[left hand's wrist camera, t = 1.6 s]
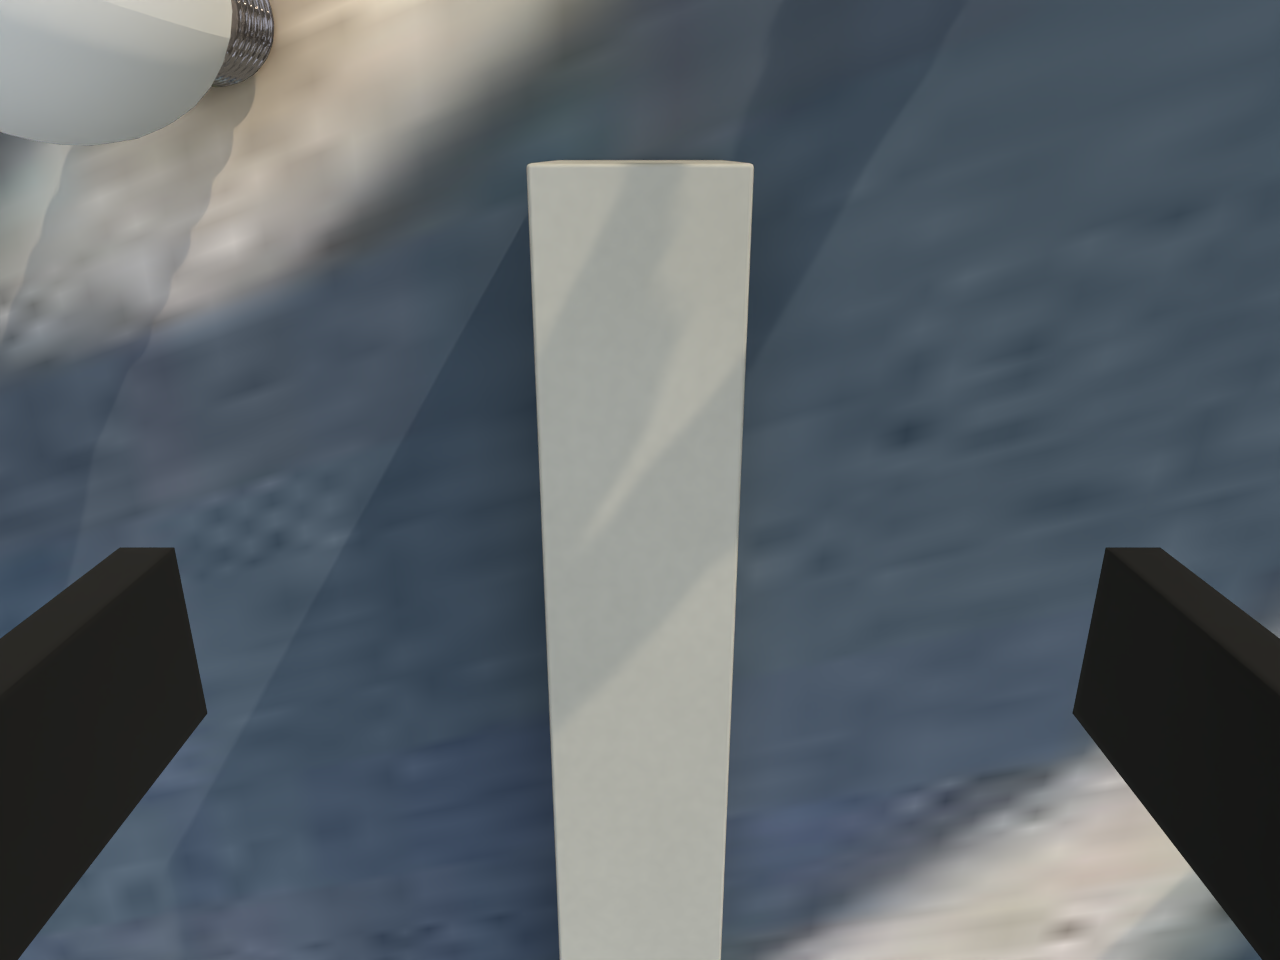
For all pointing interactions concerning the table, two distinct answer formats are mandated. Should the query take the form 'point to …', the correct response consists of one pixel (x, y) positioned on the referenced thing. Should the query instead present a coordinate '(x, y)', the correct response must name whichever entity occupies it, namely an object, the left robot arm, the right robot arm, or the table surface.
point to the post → (640, 537)
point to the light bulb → (120, 63)
